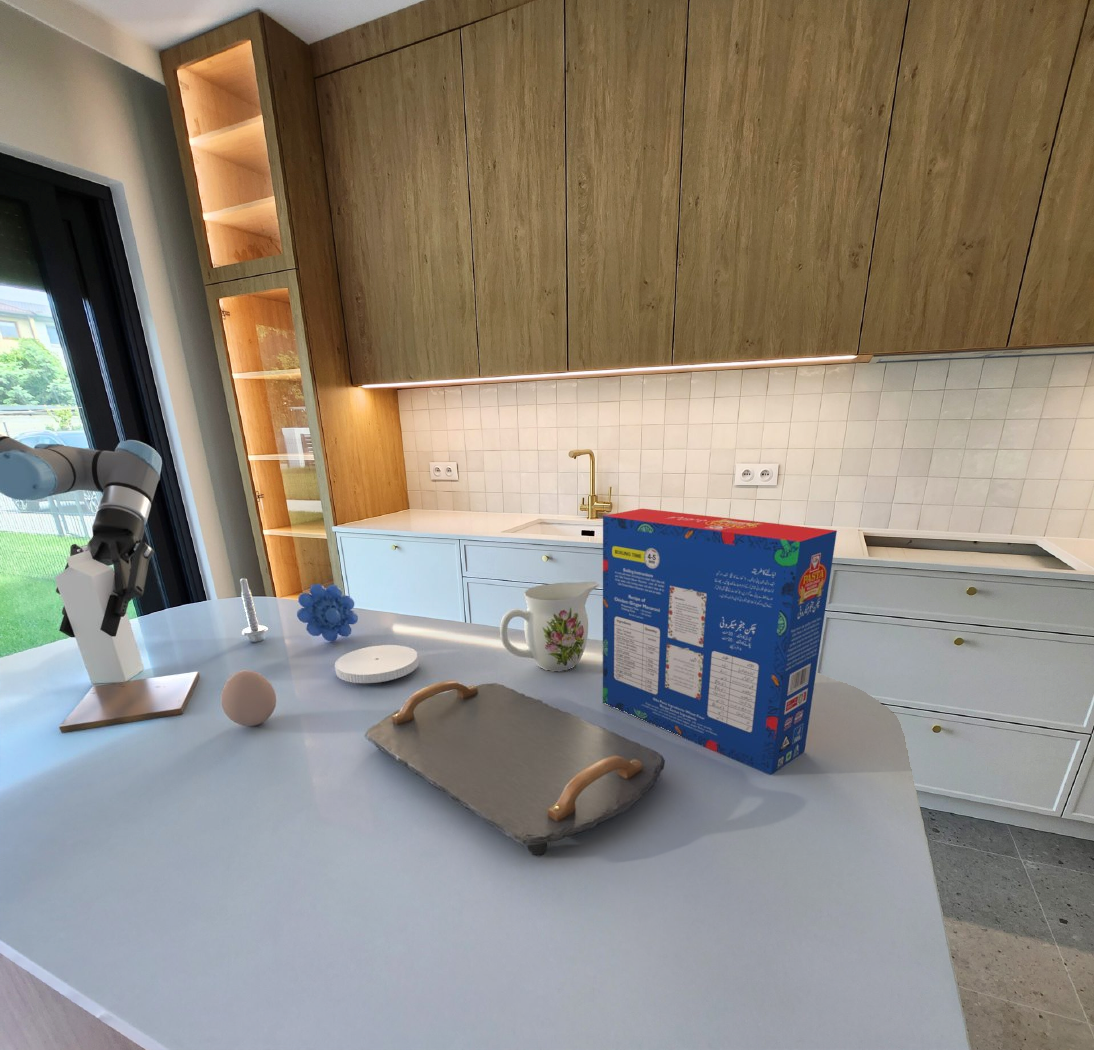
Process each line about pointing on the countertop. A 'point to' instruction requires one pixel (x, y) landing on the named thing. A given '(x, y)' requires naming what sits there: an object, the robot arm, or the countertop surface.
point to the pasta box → (715, 628)
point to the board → (132, 701)
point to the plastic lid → (376, 664)
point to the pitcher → (552, 624)
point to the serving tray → (517, 760)
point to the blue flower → (327, 612)
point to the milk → (97, 620)
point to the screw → (251, 615)
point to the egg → (248, 698)
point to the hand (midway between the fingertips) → (87, 633)
